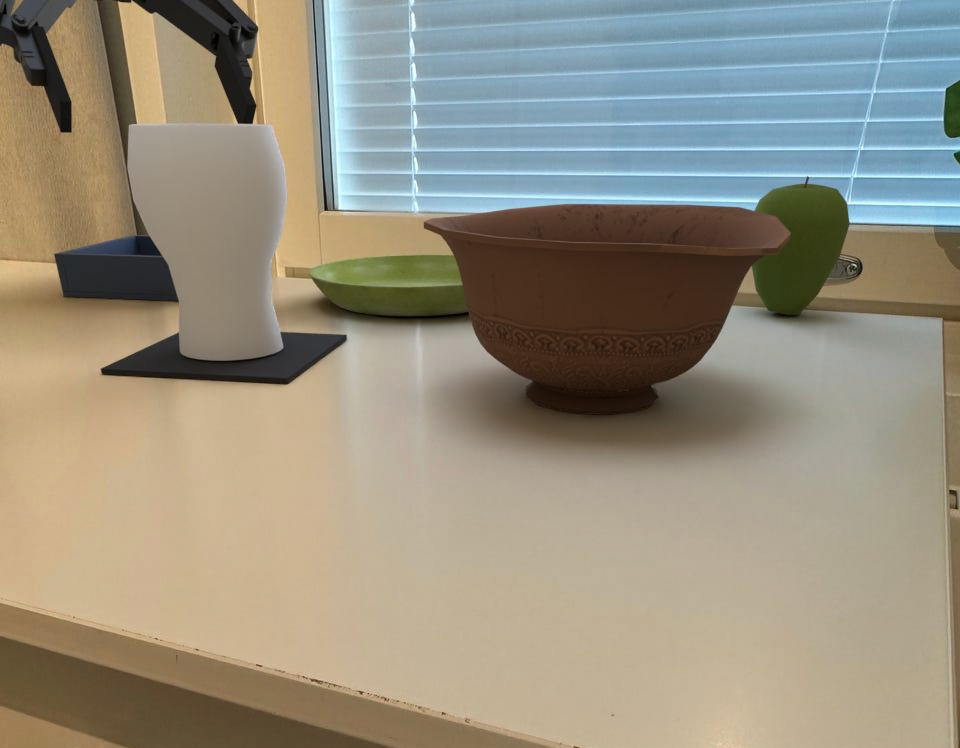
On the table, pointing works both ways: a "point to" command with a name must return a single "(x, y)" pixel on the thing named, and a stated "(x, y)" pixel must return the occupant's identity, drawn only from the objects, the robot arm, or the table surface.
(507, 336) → the bowl
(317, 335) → the mat
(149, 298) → the bin
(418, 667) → the table surface
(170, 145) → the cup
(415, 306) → the saucer
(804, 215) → the apple
